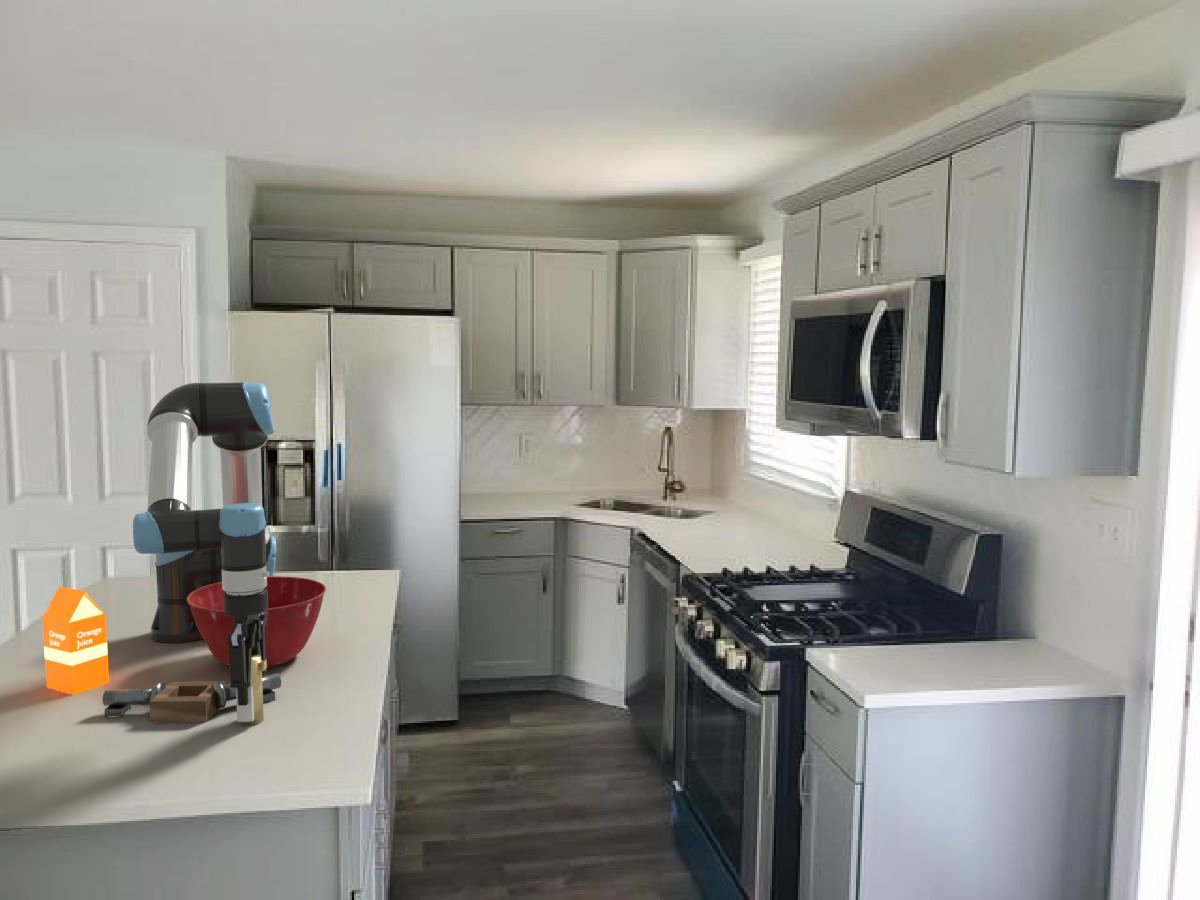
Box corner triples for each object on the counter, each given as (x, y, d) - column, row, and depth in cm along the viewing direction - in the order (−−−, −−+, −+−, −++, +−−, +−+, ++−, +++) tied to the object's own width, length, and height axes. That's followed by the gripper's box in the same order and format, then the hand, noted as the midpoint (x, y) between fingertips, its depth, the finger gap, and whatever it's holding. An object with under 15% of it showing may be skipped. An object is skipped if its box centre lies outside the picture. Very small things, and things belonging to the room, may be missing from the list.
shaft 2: (221, 714, 169) (220, 686, 169) (211, 707, 173) (210, 679, 172) (284, 698, 177) (282, 671, 177) (273, 691, 181) (272, 664, 180)
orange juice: (83, 675, 190) (77, 582, 188) (110, 682, 186) (104, 587, 184) (45, 688, 183) (39, 590, 181) (72, 695, 179) (66, 596, 177)
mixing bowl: (350, 643, 211) (349, 578, 209) (284, 687, 183) (281, 612, 181) (241, 636, 217) (238, 572, 215) (160, 677, 189) (156, 604, 187)
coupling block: (173, 702, 176) (172, 681, 175) (226, 701, 176) (225, 681, 176) (150, 722, 166) (149, 701, 165) (206, 721, 166) (205, 700, 166)
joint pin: (238, 716, 169) (235, 653, 167) (271, 716, 169) (268, 653, 168) (229, 726, 164) (226, 661, 163) (263, 725, 164) (261, 661, 163)
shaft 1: (167, 707, 173) (166, 679, 173) (156, 717, 168) (154, 688, 168) (114, 707, 173) (112, 679, 172) (100, 718, 168) (99, 689, 167)
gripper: (250, 603, 155) (255, 734, 158) (281, 577, 173) (285, 696, 175) (205, 603, 155) (211, 735, 157) (240, 578, 172) (246, 697, 175)
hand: (250, 714), depth 166 cm, fingers open, 4 cm apart
